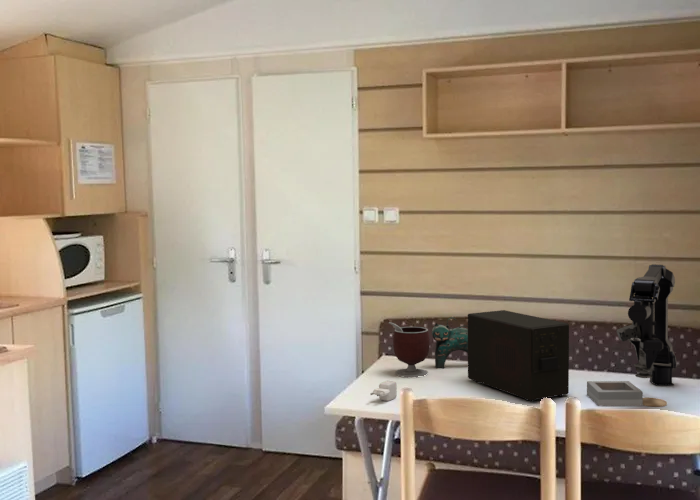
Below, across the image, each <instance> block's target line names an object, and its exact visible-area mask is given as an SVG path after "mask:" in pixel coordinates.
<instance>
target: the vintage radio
mask: <svg viewBox="0 0 700 500" xmlns="http://www.w3.org/2000/svg"><path fill="white" fill-rule="evenodd" d="M467 326H468V327H467V329H468V353H467V378H468V379H469V380H471V381H474V382H475V383H477V382H480V384H483V385H486V386H488V387H491V388H494V389H496V390H500V391H503V392H505V393H509V394H511V395H514V396H516V397H519V398H522V399H525V400H526V401H528V402H535V400H539V399H540V400H541V399H545V398H544V397H547V398H552V397H563V396H562V395H568V394H569V393H570V392H569V391H570V388H569V387H570V386H569V385H570V384H569V383H570V382H569V380H570V378H569V377H570V375H569V374H570V373H569V371H570V367H569V365H570V362H569V361H570V360H569V359H570V351H569V350H570V325H569V323H567V322H563V321H558V320H554V319H548V318H543V317H539V316H534V315H529V314H524V313H520V312H514V311H509V310H505V309H503V310H502V309H501V310H494V311H493V310H492V311H484V312H472V313H468V314H467Z"/></svg>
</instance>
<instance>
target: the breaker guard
mask: <svg viewBox="0 0 700 500" xmlns="http://www.w3.org/2000/svg"><path fill="white" fill-rule="evenodd" d="M586 395H587V396H588V398H590V399H591V400H592V401H593V402H594V403H595V404H596V405H597V406H598V407H604V406H606V407H607V406H609V407H610V406H611V407H614V406H615V407H621V406H622V407H635V406H637V407H639V406H641V407H642V406H644V405H643V398H644V392H643V391H642V390H641V389H640V388H638V387H637V386H636V385H635V384H633V383H632V382H631V381H630V380H619V381H618V380H606V381H605V380H600V381H599V380H598V381H597V380H589V381H587V380H586Z"/></svg>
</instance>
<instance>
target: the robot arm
mask: <svg viewBox="0 0 700 500" xmlns="http://www.w3.org/2000/svg"><path fill="white" fill-rule="evenodd" d="M675 284H676V278H675V275H674V273H673V272H672V271H671V270H669V269H668V268H667V267H666V265H664V264H654V263H653V264H649V266H648V270H647V271H646V272H645V274H643V276H640V277H639V276H638V277H637V278H635V279H634V280H633V281H632V283H631V288H630V293H629V299H628V300H629V301H630V302H633V305H631V306H630V307H629V308H628V311H627V316H628V318H629V320H630V321H631V324H630V325H626V326H623V327H621V328H618V329H616V334H617V336H618V339H619V340H620V341H621V342H626V341H629V343H631V344H632V345H633V347H634V351H635V354H636V359H637V363H638V362H639V354H638V353H639V348H640V349H641V350H642V351H643V352H644V355H645V362H646V368H647V369H649V368H651V366H652V365H653V366H654V367H653V369H652V371H651V372H650V373H649V374H651V375H652V376H653V377H652V378H649V382H650V383H652V384H653V386H654V385H655V386H674V385H675V384H674V383H673V370H674V369H677V364H678V363H677V358H676V357H677V356H676V355H675V351H674V350H673V344H672V343H671V341H670V339H669V338H668V337H669V336H668V334H669V333H668V329H669V325H668V324H669V322H668V321H669V312H668V311H669V297H670V295H671V294H672V292H673V291H674V287H675Z"/></svg>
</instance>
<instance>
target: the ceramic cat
mask: <svg viewBox="0 0 700 500" xmlns="http://www.w3.org/2000/svg"><path fill="white" fill-rule="evenodd" d="M450 319H453V320H454V321H457V318H455V317H449V318H448V319H447V320H446V325H443V324H438V323H435V324H434V327H433V328H432V330H431V336H432V339H433V340H434V341H435V342H436V343H435V351H434V352H435V353H434V357H435V358H434V363H435V368H436V367H437V368H443V369H444V368H446V367H445V366H446V365H445V364H446V360H447V358H448V356H449V355H450V354H451V353H453V352H455V351H462V352H466V353H467V354H468V325H461V326H458V327H455V328H452V327H450V325H449V324H448V323H449V320H450ZM465 327H466V328H465ZM437 368H436V369H437Z"/></svg>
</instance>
